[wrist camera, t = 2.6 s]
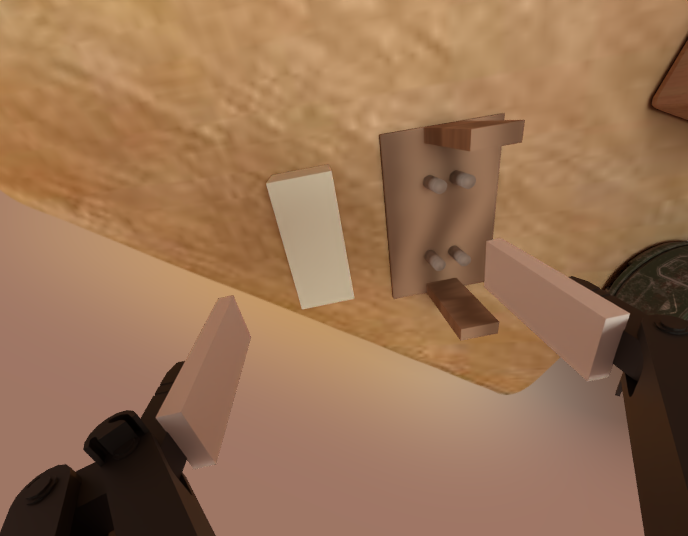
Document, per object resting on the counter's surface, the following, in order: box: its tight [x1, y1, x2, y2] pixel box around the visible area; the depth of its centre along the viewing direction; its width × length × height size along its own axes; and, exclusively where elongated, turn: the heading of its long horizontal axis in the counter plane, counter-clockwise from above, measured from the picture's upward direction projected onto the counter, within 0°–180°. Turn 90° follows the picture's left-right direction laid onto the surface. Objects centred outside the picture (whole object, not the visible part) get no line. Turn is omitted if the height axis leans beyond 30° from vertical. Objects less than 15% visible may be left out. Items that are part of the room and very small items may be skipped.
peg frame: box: [379, 113, 525, 340], centre depth 30 cm, size 13×20×10 cm, turn 9°
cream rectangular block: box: [266, 164, 355, 309], centre depth 31 cm, size 6×14×5 cm, turn 10°
